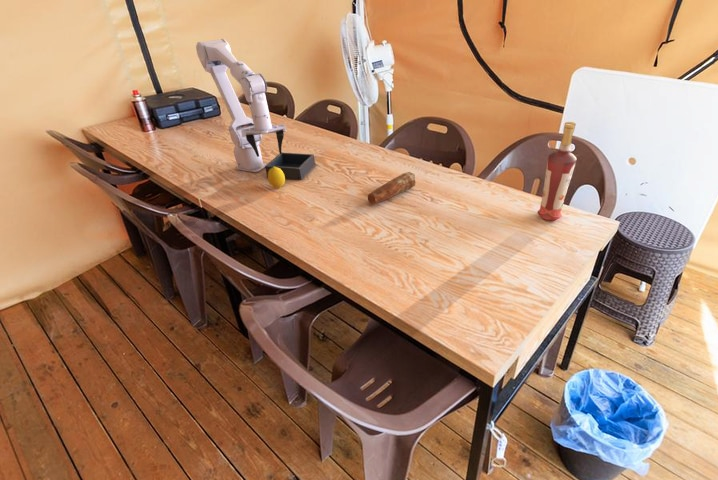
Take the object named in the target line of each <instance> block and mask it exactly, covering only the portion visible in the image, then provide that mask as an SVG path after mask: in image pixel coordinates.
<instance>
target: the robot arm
mask: <svg viewBox="0 0 718 480" xmlns="http://www.w3.org/2000/svg"><path fill="white" fill-rule="evenodd" d="M195 48H196V55H197V57H198V59H199V62H200V64H201V66H202V68H203V70H204V71H205V72H206V73H209V74H210V76H211V78H212V79H213V81H214V84H215V86H216V88H217V90H218V92H219V94H220V97H221V99H222V101H223V103H224V106H225V107H226V109H227V111H228V114H229V116H230V119H231V120H232V121H231V122H230V124H229V125H228V132H229V135H230V139H231V141H232V144H233V145H234V147H233V155H234V157H235V158H234V159H235V163H236V165H237V167H236V170H237V171H238V170H239V171H244V172H251V173H258V172H260V171H261V170H263V169H265V166H266V165H267V164H268V163H269V162H268V163H266V162H264V161H263V156H262V151H261V147H260V145H261V141H262V140H263V135H269V134H274V133H275V136H276V139H277V146H278V147H277V148H278V154H282V153H283V152H282V146H283V140H284V137H285V136H284V135H285V134H284V133H287V127H286V124H272V121H271V120H272V119H271V115H270V110H269V105H268V102H267V96H266V94H267V92H268V84H267V81H266V79H265V77H264V76H263V74H262V73H257V72H254V71H253V70H252V69H251V68H250V67H249V66H248V65H247V64H246V63H245V62H244V61H242V60H238V59H237V58H236V56H235V55H234V54H233V53H232V49H231V46H230V43H228V41H227V40H226V39H225V38H221V39H216V40H210V41H198V42H196V46H195ZM228 69H229V72H230V75H231V77H232V78H234V80H236V82H237V83H238V84H239V85H240V88H241V90H242V92H243V94H244V97H245V100H246V102H248V106H249V110H250V115H251V118H250V117H248V116H246V114H245V112H244V109H243V106H242V105H241V102H240V100H239V98H238V96H237V94H236V91H235V90H234V88H233V86H232V83H231V81H230V79H229V77H228V76H229V75H228V74H227V70H228Z"/></svg>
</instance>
